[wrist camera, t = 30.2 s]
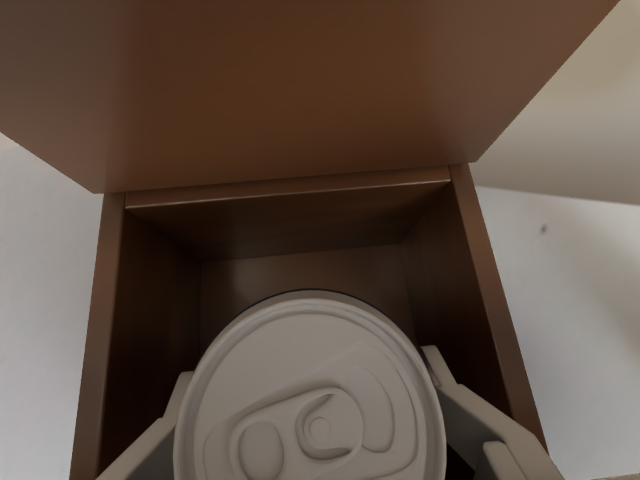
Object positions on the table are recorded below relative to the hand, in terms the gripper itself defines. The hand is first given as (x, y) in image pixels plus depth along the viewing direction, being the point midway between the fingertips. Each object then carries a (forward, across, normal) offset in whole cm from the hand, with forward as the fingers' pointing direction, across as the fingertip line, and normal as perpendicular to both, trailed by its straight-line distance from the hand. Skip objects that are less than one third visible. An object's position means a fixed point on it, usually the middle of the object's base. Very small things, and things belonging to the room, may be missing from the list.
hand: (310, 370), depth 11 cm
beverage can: (+4, 0, +5) cm, 7 cm away
